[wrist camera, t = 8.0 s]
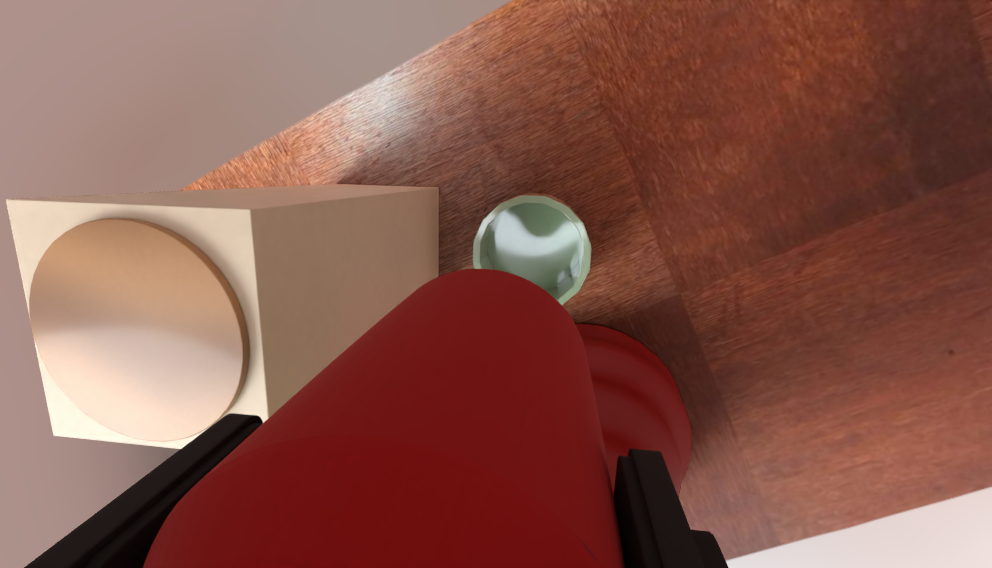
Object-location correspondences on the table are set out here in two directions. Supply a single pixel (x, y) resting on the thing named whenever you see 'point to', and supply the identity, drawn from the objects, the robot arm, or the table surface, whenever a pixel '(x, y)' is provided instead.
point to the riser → (265, 271)
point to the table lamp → (636, 401)
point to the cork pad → (139, 329)
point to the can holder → (536, 243)
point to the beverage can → (421, 449)
